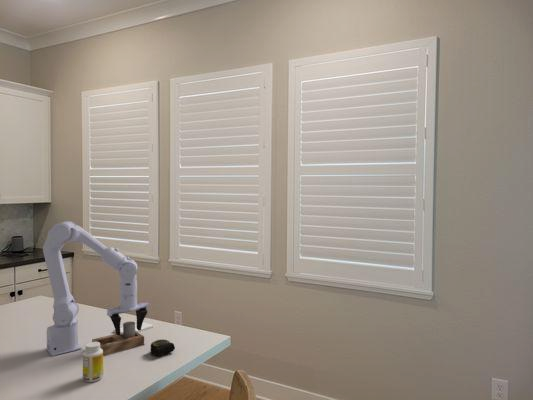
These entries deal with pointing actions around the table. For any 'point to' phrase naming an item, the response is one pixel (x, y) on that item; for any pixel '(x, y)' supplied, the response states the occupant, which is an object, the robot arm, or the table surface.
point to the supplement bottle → (92, 362)
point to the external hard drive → (144, 327)
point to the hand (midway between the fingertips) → (128, 331)
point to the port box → (119, 342)
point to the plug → (128, 330)
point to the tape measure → (161, 347)
